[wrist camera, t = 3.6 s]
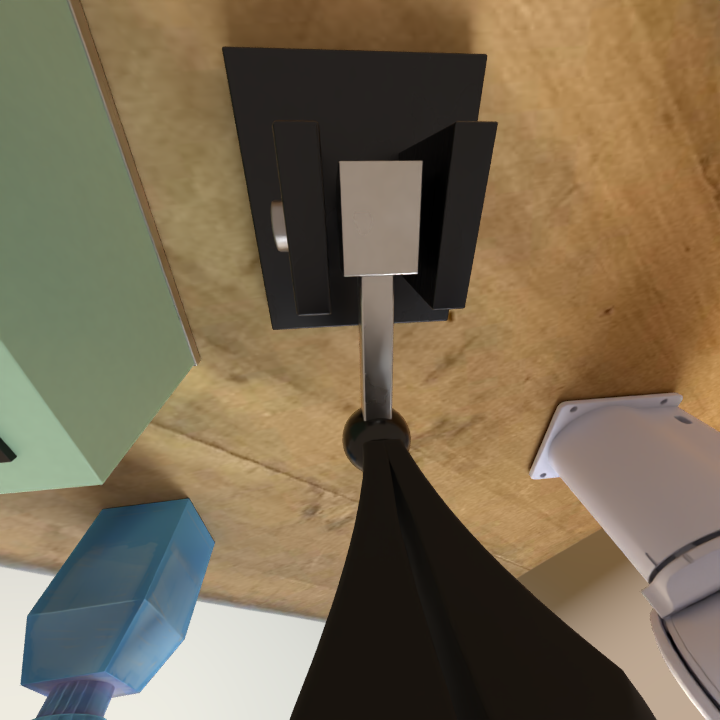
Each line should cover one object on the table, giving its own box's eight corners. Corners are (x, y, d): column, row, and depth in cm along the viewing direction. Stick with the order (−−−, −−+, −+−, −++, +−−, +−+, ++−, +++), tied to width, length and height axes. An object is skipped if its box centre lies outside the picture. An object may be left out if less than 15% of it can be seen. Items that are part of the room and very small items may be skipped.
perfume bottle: (189, 498, 21) (63, 780, 11) (214, 542, 25) (135, 794, 14) (102, 509, 21) (-111, 812, 11) (139, 553, 24) (2, 819, 14)
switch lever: (400, 441, 14) (417, 487, 11) (342, 446, 14) (345, 494, 11) (409, 181, 10) (438, 157, 7) (326, 181, 9) (325, 157, 7)
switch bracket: (439, 313, 16) (505, 381, 10) (275, 321, 15) (245, 400, 9) (473, 66, 11) (641, -78, 5) (231, 60, 10) (106, -117, 4)
